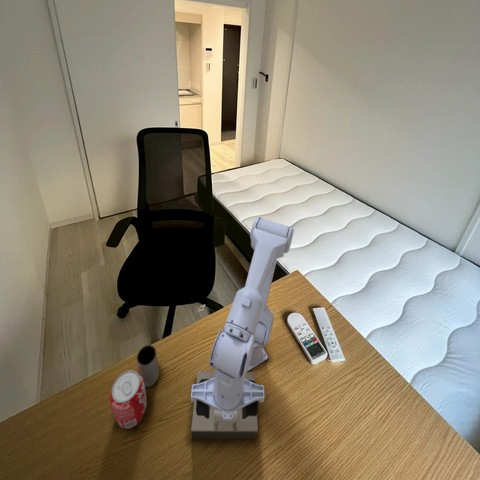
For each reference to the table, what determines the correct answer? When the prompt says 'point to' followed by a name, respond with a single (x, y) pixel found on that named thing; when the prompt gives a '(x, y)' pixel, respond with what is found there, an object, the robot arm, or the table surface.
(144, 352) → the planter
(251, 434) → the dark grey open box
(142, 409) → the soda can
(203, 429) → the lid
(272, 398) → the table surface
